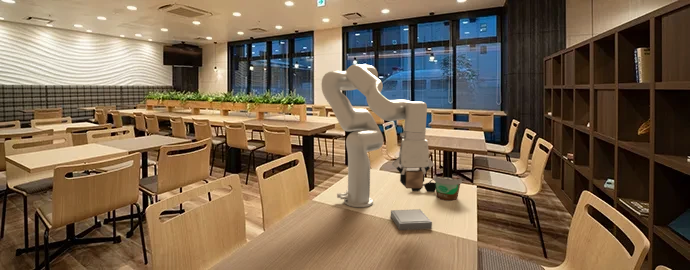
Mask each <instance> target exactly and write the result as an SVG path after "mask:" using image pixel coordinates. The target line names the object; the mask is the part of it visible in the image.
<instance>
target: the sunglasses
mask: <svg viewBox="0 0 690 270" xmlns="http://www.w3.org/2000/svg"><path fill="white" fill-rule="evenodd" d="M432 181H434V182H432ZM423 187H424V189H425V191H426V192H427V193H431V192H432V193H434V192H435V193H436V181H435V180H434V178H432V179H431V180H429V182H426V183H423ZM410 189H411V191H412V192H420V191H421V190H422V189H423V188H410Z"/></svg>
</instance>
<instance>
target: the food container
mask: <svg viewBox="0 0 690 270" xmlns="http://www.w3.org/2000/svg"><path fill="white" fill-rule="evenodd" d="M433 179H434V180H435V181H436V182H435V181H434V180H433V181H434V182H435V183H436V190H435V197H436V198H437V199H438V200H441V201H446V202H454V201H456V200H458V198H459V192H460V187H461V184H462V183H463V181H462V178H458V179H456V178H452V177H446V176H442V177H441V176H438V175H436V174H435V175H434V178H433Z"/></svg>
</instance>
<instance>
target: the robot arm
mask: <svg viewBox="0 0 690 270" xmlns="http://www.w3.org/2000/svg"><path fill="white" fill-rule="evenodd" d="M378 77H379V73H378V71H377V68H376V67H375V66H373V65H370V64H360V63H359V64H358V63H357V64H352V65H350V66H349V67H348V68H347V69H346V70H331V71H328V72H326V73H325V74H324V75H323V76H322V79H321V90H322V91H321V92H322V94H323V96H324V98H325V100H326V102H327V103H328V105H329V106H330V108H331V109H332V112H333V115H334V116H335V118H336V120H337V121H338V124H339V126H340V127H341V129H342V130H343V131H345V132H350V133H349V134H348V135H347V137H346V140H345V145H346V147H345V148H346V151H347V152H346V153H347V190H346V191H345V192H344V193H341V192H340V193H339V192H338V193H336V198H337V199H340V200H343V203H344V204H345V205H346V206H349V207H352V208H366V207H370V206H372V205H373V203H374V199H373V198H372V197H370V194H371V193H370V191H371V189H370V188H371V159H370V157H369V155H368V152H373V151H377V150H379V149H381V148H383V147H382V146H383V145H384V136H383V133H382V131H381V129H380V127H379V125H378V124H377V121H376V120H375V118H374V117H373V114H372V113H371V112H370V111H369V110H368V109H366V108H365V109H364V108H355V107H354V106H353V105H352V103H351V101H350V99H349V98H348V97H347V96H346V95H345V94H344V93H343V92H342V91H354V90H357V91H359V92H360V93H361V94H362V95H363V96H364V97H366V103H367V105H368V108H369V109H370V110H371V111H372V112H373V113H374V114H375V115H376V116H377V117H378V118H380V119H382V120H384V121H387V122H393V121H394V122H395V121H400V120H401V121H403V120H404V130H403V132H400V134H399V136H400V137H402V139H401V143H400V147H399V153H398V157H397V158H396V159H395V160H394V161H392V166H393V167H394V168H395V169H396V170H397V171H398V172H399V173H400V176H399V178H400V179H399V182H400V183H401V184H402V185H403V186H404V185H405V184H406V175H405V172H406V170H407V168H419V169H420V170H421V171H423V172H424V174H423V183H424V182H425V175H426V174H427V173H428V171H429V170H430V169H431V168H432V167H433V166H434V164H435V163H434V162H433V161H432V159H430V158H429V157H430V156H429V155H430V151H429V142H428V140H427V139H426V131H427V130H426V129H427V114H428V113H427V112H428V106H427V103H426V102H423V101H410V100H407V99H388V98H386V97H385V96H384V95H383V94H382V93H381V92H382V90H383V88H384V87H383V82H382V80H381V79H379V78H378ZM399 165H400V166H399Z"/></svg>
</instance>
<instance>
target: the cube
mask: <svg viewBox="0 0 690 270" xmlns="http://www.w3.org/2000/svg"><path fill="white" fill-rule="evenodd" d="M423 174H424V172H423V171H421V170H420V169H419V168H407V170H406V172H405V175H406V184H405V185H403V187H404V188H406V189H411V188H422V189H423V187H424V186H423V184H424V182H423Z"/></svg>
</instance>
